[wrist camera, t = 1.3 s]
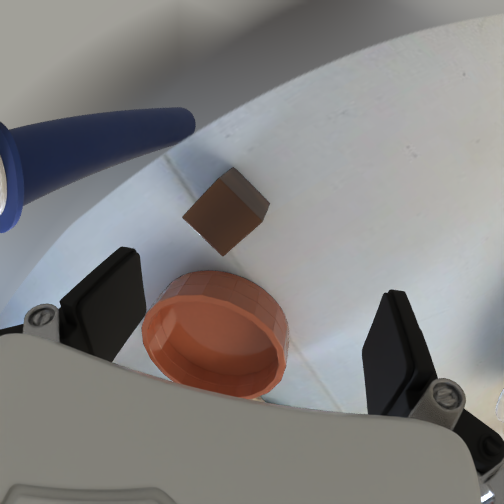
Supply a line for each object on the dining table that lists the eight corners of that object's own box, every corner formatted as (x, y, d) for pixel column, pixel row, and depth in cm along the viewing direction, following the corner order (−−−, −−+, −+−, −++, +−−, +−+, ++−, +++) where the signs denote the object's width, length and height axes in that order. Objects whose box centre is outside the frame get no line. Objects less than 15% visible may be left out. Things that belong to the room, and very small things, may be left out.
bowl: (137, 315, 35) (120, 338, 31) (213, 241, 29) (198, 263, 25) (226, 387, 38) (218, 413, 34) (317, 339, 32) (317, 369, 28)
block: (200, 200, 27) (181, 217, 23) (233, 166, 25) (218, 177, 21) (235, 234, 28) (222, 257, 24) (270, 203, 26) (263, 221, 22)
